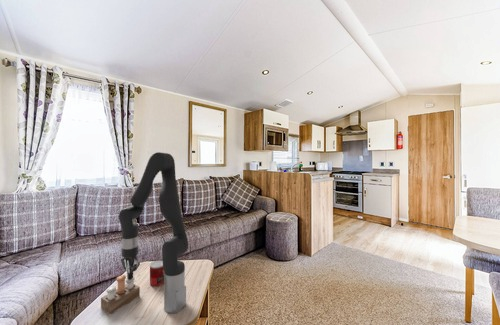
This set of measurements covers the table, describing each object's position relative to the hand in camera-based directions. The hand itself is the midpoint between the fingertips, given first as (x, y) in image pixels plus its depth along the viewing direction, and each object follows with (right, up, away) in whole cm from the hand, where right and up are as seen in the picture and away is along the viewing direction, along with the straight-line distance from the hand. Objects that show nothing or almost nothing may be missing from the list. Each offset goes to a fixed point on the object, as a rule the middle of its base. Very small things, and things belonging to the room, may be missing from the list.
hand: (130, 278), depth 104 cm
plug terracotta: (-2, -6, -4) cm, 7 cm away
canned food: (+9, -9, +12) cm, 17 cm away
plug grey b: (0, -9, 0) cm, 9 cm away
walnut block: (-2, -9, -4) cm, 10 cm away
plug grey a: (-4, -9, -8) cm, 13 cm away
